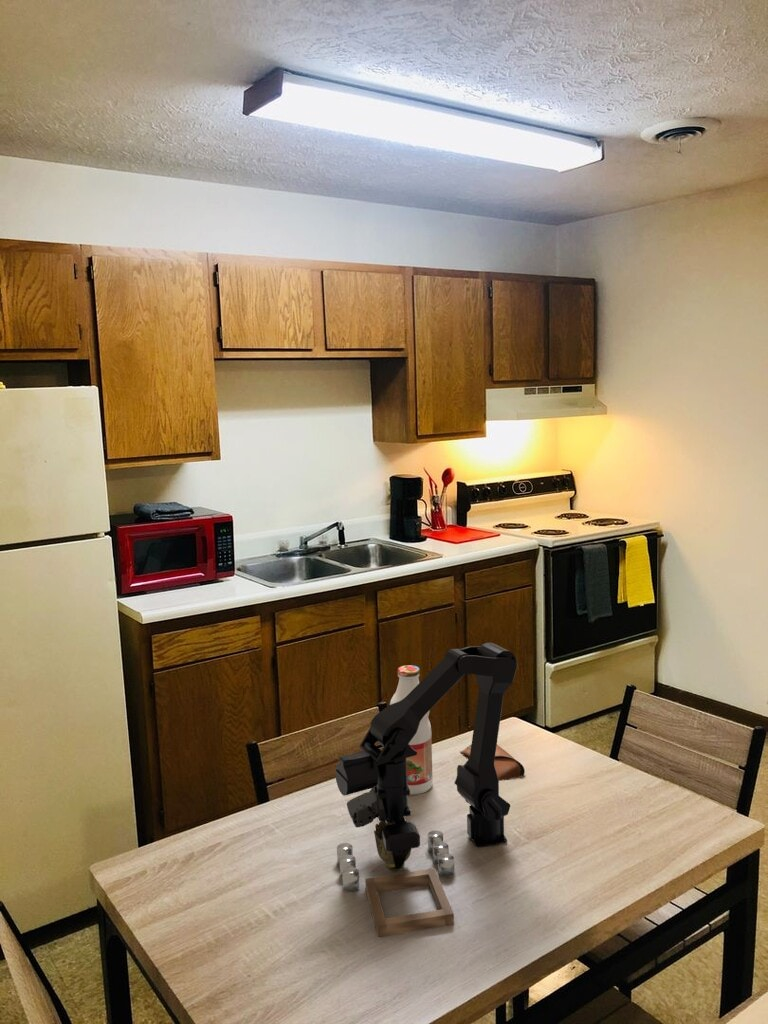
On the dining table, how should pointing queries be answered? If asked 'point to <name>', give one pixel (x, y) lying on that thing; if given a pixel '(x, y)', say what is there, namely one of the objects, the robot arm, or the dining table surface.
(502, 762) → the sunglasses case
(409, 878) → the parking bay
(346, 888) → the spacer posts
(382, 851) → the ornate brass lampshade
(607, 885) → the dining table surface
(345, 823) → the dining table surface
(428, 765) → the white plastic bottle
